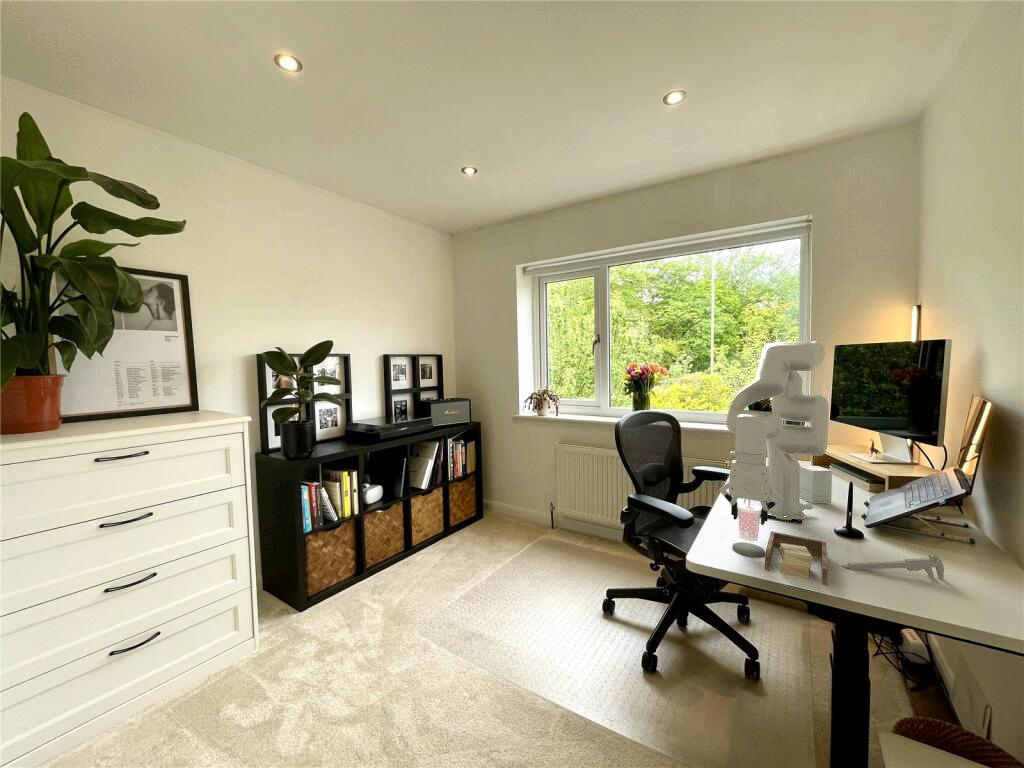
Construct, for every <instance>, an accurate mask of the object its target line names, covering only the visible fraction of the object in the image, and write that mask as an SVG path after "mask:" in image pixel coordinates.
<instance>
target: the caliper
mask: <svg viewBox="0 0 1024 768" xmlns="http://www.w3.org/2000/svg"><path fill="white" fill-rule="evenodd" d="M938 556H939V555H937V554H936V553H934V554H933V556H932V555H931V554H929V553H928V558H929V559H928V558H926V557H925V558H924V557H923V558H905V559H904V560H894V561H893V560H892V561H891V560H889V561H859V562H847V564H843V565H841V566H842V568H844V569H850V570H858V571H859V570H860V571H861V570H882V569H883V570H890V569H891V570H892V569H907V570H908V572H914V571H915V572H919V571H922V570H924V571H925V572H926V575H927V576H928V577H929V578H930V579H932V580H934V579H935V574H934V572H933V568H935V570H936V574H937V578H938V579H939V580H941V581H942V580H943V579H944V576H945V566H944V564H943V560H942V559H941V558H939V557H938Z"/></svg>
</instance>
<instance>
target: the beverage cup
mask: <svg viewBox="0 0 1024 768" xmlns="http://www.w3.org/2000/svg"><path fill="white" fill-rule="evenodd" d="M747 500H748V499H747ZM737 504H738V505H737V509H738V517H737V519H738V536H739V538H740V539H741V540H744V541H747V542H758V540H759V534H760V533H759V531H760V525H761V510H762V506H759V505H757V504H752V503H751V500H748V502H746V503H745V502H744V503H737Z"/></svg>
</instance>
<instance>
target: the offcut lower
mask: <svg viewBox="0 0 1024 768" xmlns="http://www.w3.org/2000/svg"><path fill="white" fill-rule="evenodd" d="M779 573H782V574H787V575H791V576H793V575H794V576H793V577H797V576H798V578H802V579H805V580H809V579H810V574H811V568H809V567H803V566H796V565H790V564H785V563H784V561H783V559H782V557H781V559H780V565H779Z"/></svg>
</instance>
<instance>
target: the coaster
mask: <svg viewBox="0 0 1024 768" xmlns="http://www.w3.org/2000/svg"><path fill="white" fill-rule="evenodd" d="M732 550H733V551H734V552H736V553H737V554H739V555H742V556H745V557H750V558H762V557H765V552H766V549H765V548H763V547H761V546H759V545H757V544H754V543H749V542H743V541H740V542H735V543H733V544H732Z"/></svg>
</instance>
